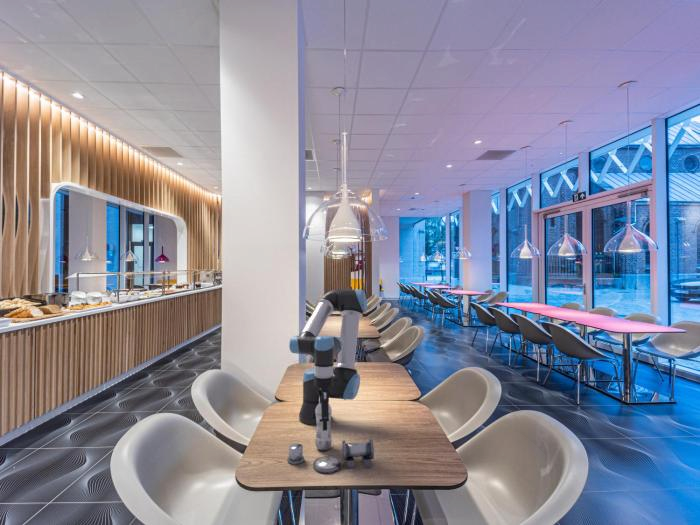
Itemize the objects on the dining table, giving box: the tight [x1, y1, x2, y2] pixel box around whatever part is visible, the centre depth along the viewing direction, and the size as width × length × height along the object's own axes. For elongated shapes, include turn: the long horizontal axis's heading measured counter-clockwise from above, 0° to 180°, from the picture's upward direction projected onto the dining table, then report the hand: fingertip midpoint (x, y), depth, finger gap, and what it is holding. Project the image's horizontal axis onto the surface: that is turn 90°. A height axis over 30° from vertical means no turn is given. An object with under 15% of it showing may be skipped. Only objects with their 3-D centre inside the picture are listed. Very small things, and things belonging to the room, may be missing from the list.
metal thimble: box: [286, 443, 305, 466], centre depth 132 cm, size 6×6×5 cm
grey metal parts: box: [312, 438, 375, 475], centre depth 129 cm, size 21×10×8 cm, turn 98°
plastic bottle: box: [314, 397, 333, 451], centre depth 142 cm, size 6×7×20 cm
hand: (323, 430), depth 142 cm, fingers open, 13 cm apart
